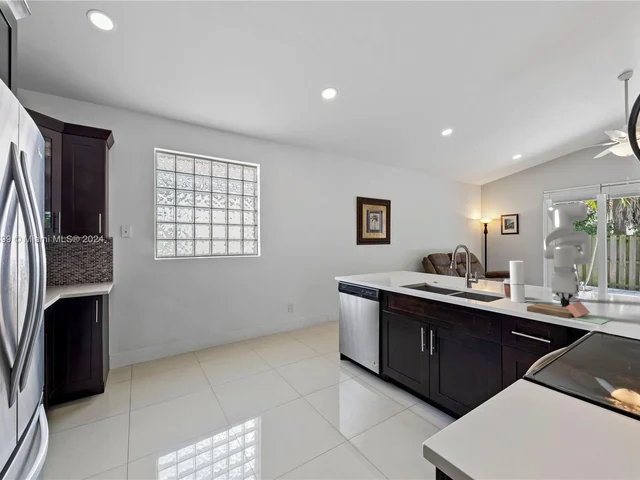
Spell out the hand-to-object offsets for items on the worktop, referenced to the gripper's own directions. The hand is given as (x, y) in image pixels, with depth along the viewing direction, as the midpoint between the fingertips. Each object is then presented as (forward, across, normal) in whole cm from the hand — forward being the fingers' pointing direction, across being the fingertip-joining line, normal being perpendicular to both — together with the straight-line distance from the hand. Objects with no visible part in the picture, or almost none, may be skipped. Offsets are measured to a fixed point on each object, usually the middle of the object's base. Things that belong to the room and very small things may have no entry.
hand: (565, 306), depth 142 cm
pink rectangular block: (+1, -5, 0) cm, 5 cm away
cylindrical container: (+4, +29, -14) cm, 33 cm away
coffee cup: (+4, +37, -22) cm, 43 cm away
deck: (+4, +5, 0) cm, 7 cm away
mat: (+4, -10, -1) cm, 11 cm away
